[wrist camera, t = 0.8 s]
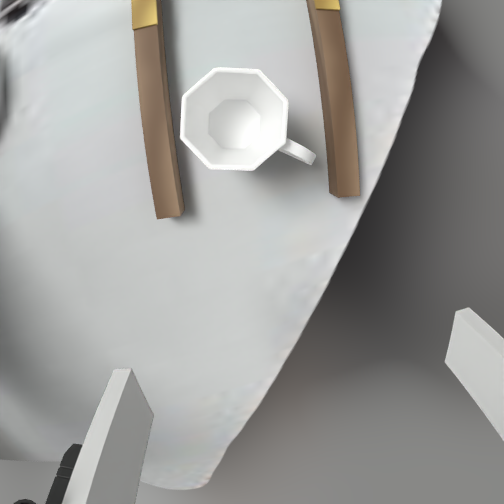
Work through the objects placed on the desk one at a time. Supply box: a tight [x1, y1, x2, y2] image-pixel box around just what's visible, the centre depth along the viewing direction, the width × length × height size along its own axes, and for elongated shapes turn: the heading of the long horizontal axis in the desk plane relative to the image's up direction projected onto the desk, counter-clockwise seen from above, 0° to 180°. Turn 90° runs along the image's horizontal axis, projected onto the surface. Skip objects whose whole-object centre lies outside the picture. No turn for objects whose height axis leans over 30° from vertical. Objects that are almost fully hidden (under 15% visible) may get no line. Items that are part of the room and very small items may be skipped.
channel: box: [131, 0, 360, 219], centre depth 22 cm, size 17×30×3 cm, turn 6°
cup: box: [180, 68, 316, 171], centre depth 22 cm, size 7×10×8 cm
